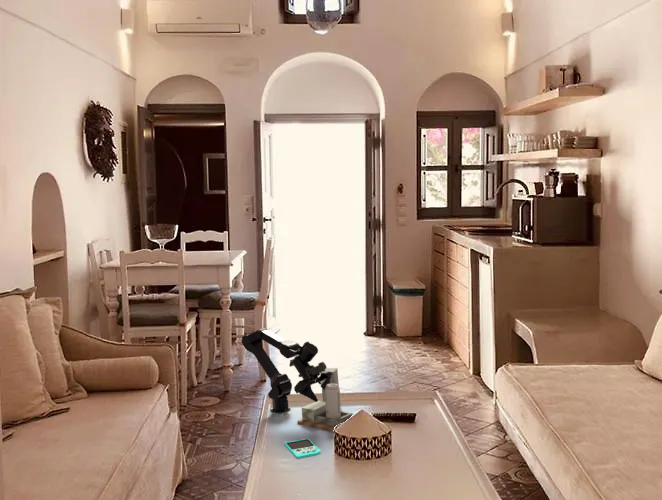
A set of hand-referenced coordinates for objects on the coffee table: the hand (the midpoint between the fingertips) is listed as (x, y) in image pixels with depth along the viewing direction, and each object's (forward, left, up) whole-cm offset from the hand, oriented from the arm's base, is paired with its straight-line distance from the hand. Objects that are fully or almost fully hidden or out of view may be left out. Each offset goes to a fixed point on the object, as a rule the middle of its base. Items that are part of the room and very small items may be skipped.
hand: (324, 398), depth 303 cm
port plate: (+2, 0, -10) cm, 10 cm away
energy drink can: (+4, 0, -9) cm, 10 cm away
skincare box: (-12, +19, -10) cm, 25 cm away
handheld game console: (+12, -28, -11) cm, 32 cm away
